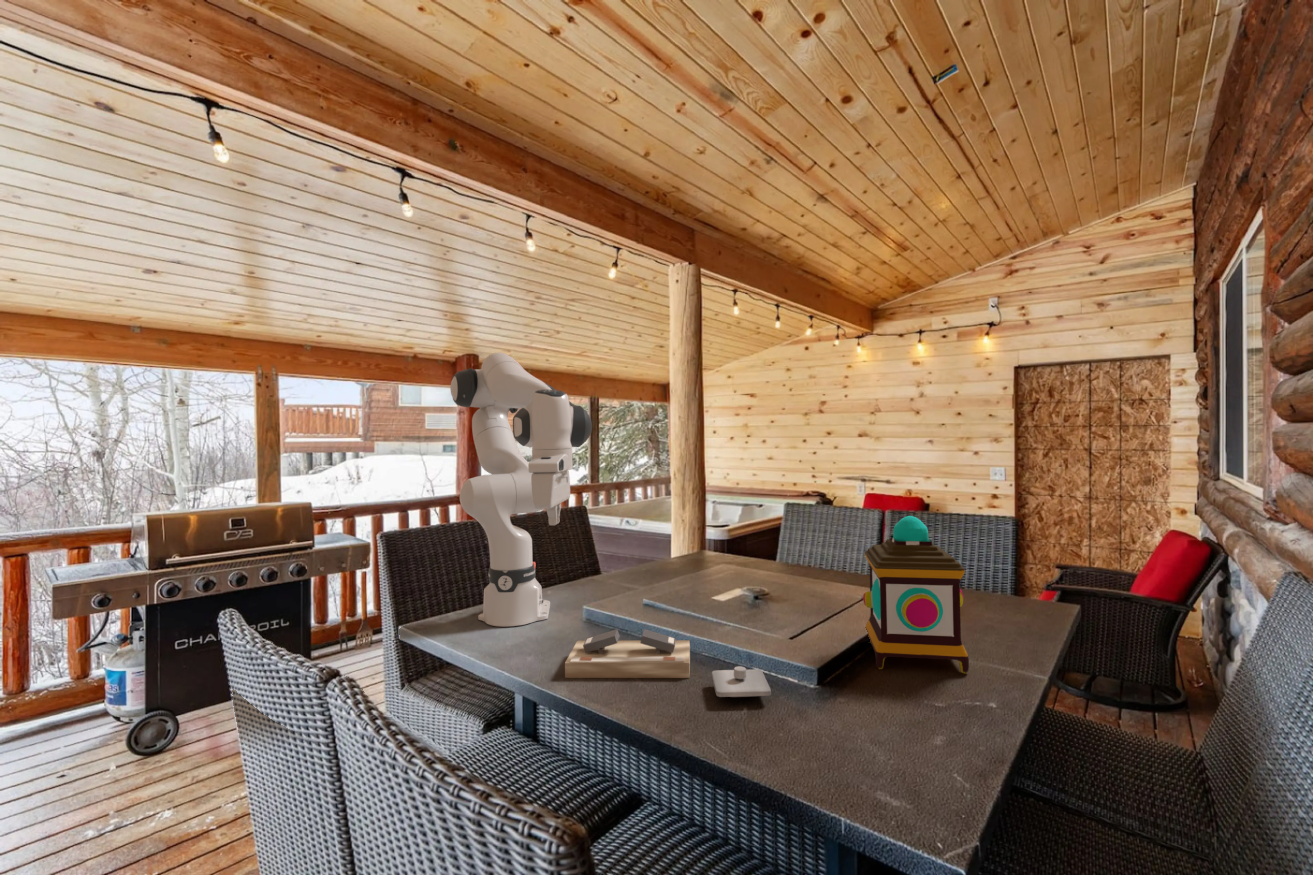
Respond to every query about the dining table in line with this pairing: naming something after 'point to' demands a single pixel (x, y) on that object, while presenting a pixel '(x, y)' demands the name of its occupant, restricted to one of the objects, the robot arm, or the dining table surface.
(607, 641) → the plate
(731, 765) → the dining table surface
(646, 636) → the plate
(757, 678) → the light switch
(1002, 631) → the dining table surface
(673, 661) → the switch panel
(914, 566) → the decorative lantern
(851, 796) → the dining table surface
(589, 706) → the dining table surface
